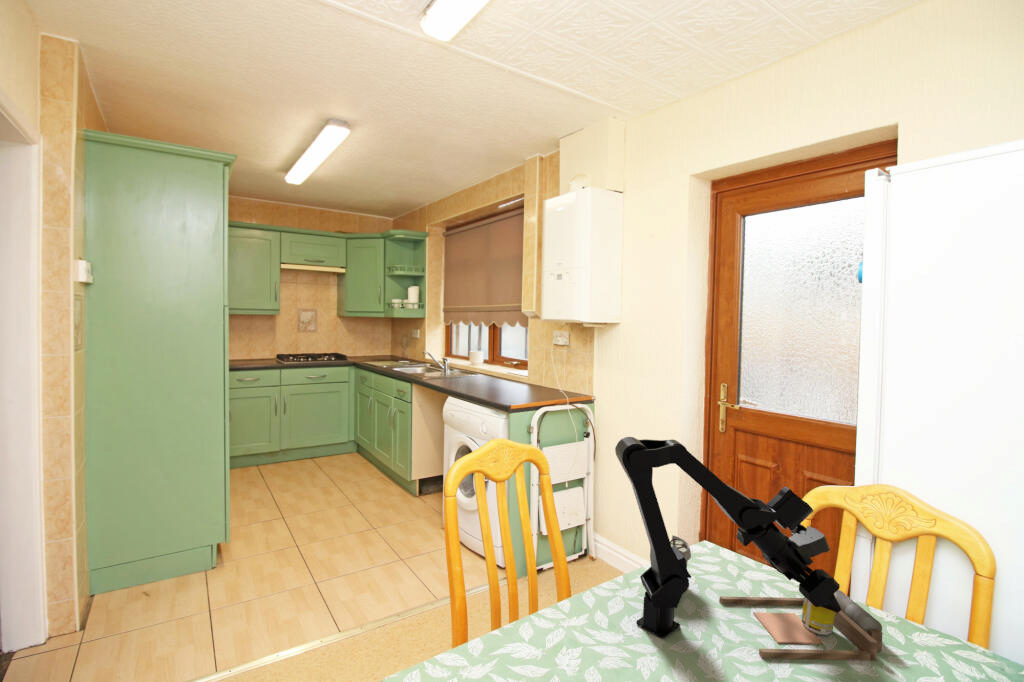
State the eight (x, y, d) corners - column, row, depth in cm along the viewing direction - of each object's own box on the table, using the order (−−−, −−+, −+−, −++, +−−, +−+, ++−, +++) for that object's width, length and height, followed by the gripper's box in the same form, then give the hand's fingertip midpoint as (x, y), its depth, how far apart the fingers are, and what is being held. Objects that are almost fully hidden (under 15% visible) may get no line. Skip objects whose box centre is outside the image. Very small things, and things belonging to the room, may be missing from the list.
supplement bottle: (839, 635, 103) (845, 586, 102) (816, 637, 101) (822, 587, 101) (816, 619, 108) (822, 572, 108) (794, 620, 107) (800, 573, 106)
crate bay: (761, 658, 95) (762, 630, 95) (719, 601, 114) (720, 578, 114) (896, 660, 95) (898, 632, 95) (832, 603, 114) (833, 580, 114)
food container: (679, 604, 113) (681, 560, 112) (652, 594, 116) (654, 551, 116) (696, 582, 122) (698, 541, 122) (671, 573, 126) (673, 534, 126)
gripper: (831, 536, 94) (887, 596, 95) (778, 500, 113) (825, 550, 114) (787, 577, 95) (843, 636, 95) (741, 534, 113) (788, 584, 114)
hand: (824, 597), depth 104 cm, fingers open, 9 cm apart
